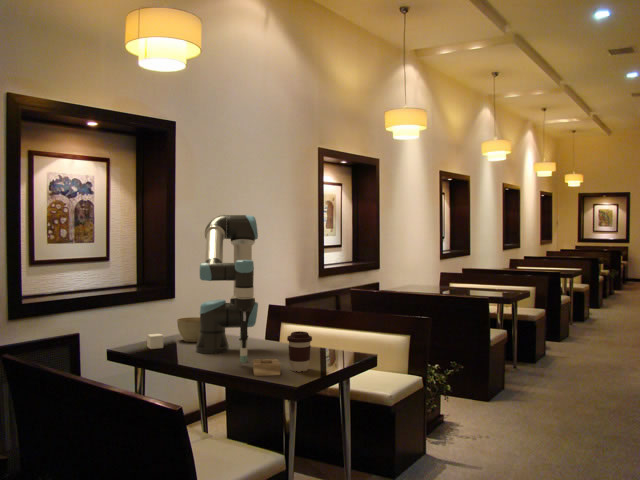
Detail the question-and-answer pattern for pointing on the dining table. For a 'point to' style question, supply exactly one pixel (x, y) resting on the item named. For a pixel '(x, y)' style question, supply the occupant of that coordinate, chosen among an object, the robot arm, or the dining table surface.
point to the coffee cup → (299, 350)
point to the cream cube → (154, 341)
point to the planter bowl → (189, 328)
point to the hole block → (266, 367)
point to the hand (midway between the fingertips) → (243, 354)
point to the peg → (243, 358)
